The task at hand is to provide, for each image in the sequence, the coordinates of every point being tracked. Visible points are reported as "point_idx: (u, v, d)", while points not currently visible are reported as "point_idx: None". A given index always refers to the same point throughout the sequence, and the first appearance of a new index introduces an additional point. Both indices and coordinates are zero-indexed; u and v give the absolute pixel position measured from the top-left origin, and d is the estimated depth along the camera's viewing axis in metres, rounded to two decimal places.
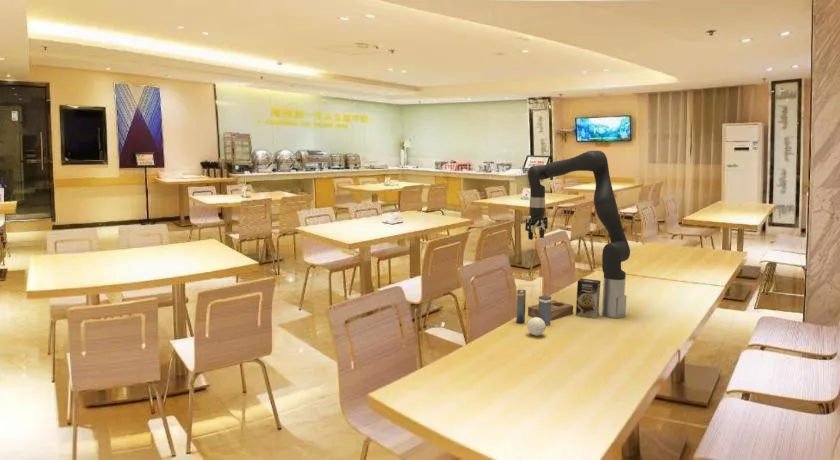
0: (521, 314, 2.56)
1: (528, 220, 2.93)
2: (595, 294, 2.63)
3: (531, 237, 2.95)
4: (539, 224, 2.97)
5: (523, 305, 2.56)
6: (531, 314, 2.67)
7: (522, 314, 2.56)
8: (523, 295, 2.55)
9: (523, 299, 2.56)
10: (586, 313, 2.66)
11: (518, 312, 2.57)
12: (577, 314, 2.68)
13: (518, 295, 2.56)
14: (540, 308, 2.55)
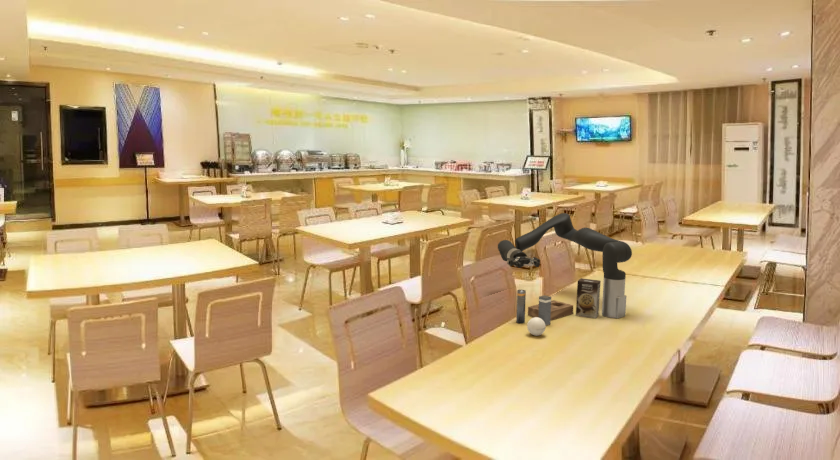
0: (521, 314, 2.56)
1: None
2: (595, 294, 2.63)
3: None
4: None
5: (523, 305, 2.56)
6: (531, 314, 2.67)
7: (522, 314, 2.56)
8: (523, 295, 2.55)
9: (523, 299, 2.56)
10: (586, 313, 2.66)
11: (518, 312, 2.57)
12: (577, 314, 2.68)
13: (518, 295, 2.56)
14: (540, 308, 2.55)
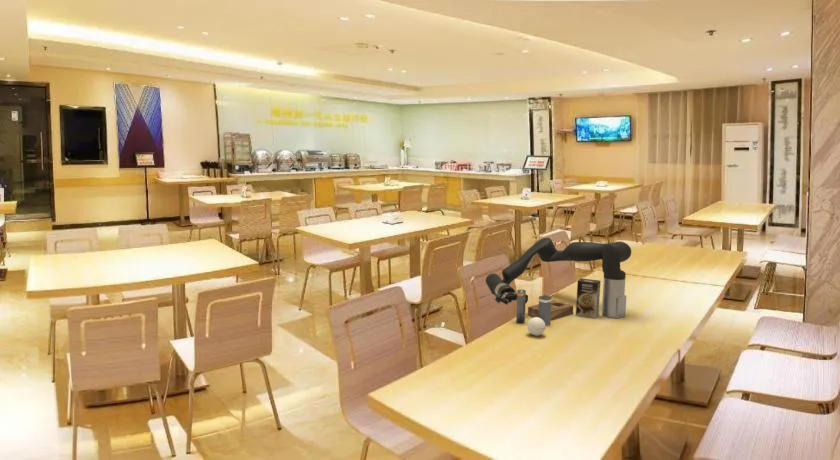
0: (521, 314, 2.56)
1: None
2: (595, 294, 2.63)
3: None
4: None
5: (523, 305, 2.56)
6: (531, 314, 2.67)
7: (522, 314, 2.56)
8: (523, 295, 2.55)
9: (523, 299, 2.56)
10: (586, 313, 2.66)
11: (518, 312, 2.57)
12: (577, 314, 2.68)
13: (518, 295, 2.56)
14: (540, 308, 2.55)
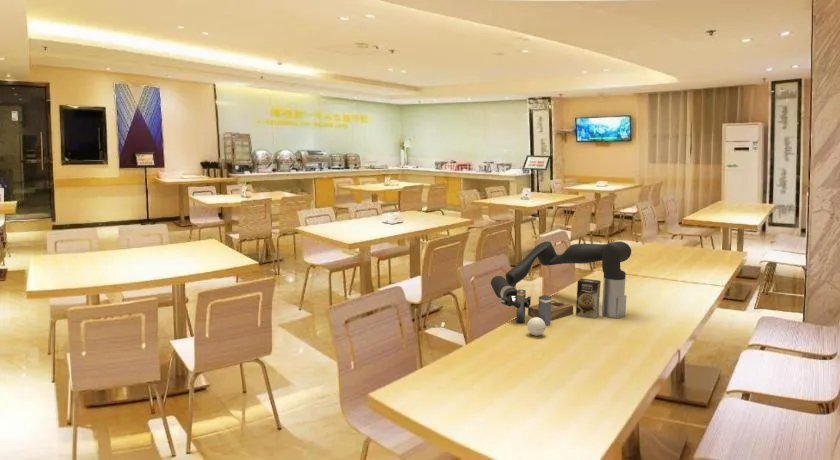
0: (521, 314, 2.56)
1: None
2: (595, 294, 2.63)
3: None
4: None
5: (523, 305, 2.56)
6: (531, 314, 2.67)
7: (522, 314, 2.56)
8: (523, 295, 2.55)
9: (523, 299, 2.56)
10: (586, 313, 2.66)
11: (518, 312, 2.57)
12: (577, 314, 2.68)
13: (518, 295, 2.56)
14: (540, 308, 2.55)
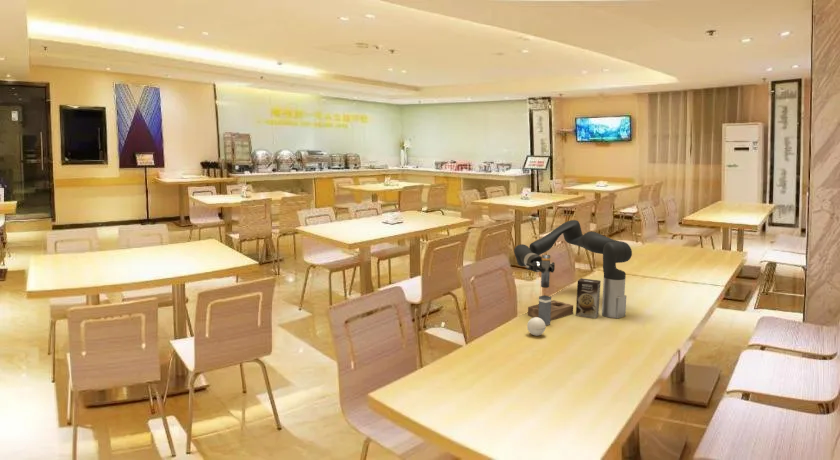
0: (546, 278, 2.63)
1: None
2: (595, 294, 2.63)
3: None
4: None
5: (548, 270, 2.62)
6: (531, 314, 2.67)
7: (547, 278, 2.63)
8: (548, 260, 2.62)
9: (548, 264, 2.62)
10: (586, 313, 2.66)
11: (543, 277, 2.63)
12: (577, 314, 2.68)
13: (543, 260, 2.62)
14: (540, 308, 2.55)
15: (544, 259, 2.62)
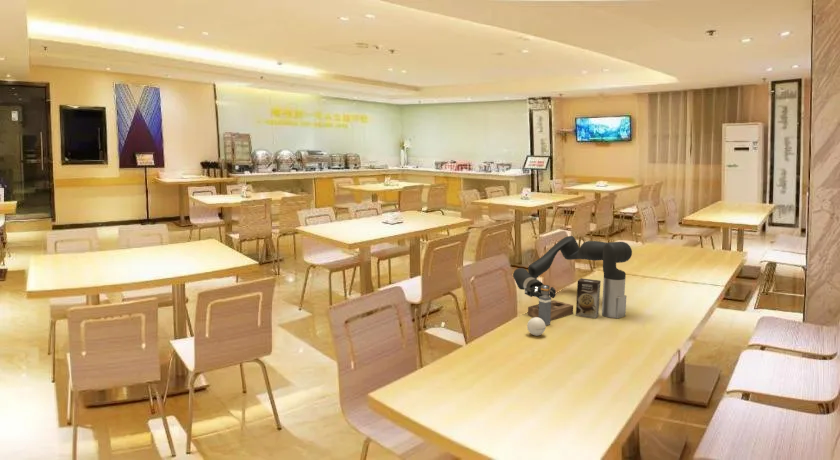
0: None
1: None
2: (595, 294, 2.63)
3: (553, 296, 2.65)
4: None
5: None
6: (531, 314, 2.67)
7: None
8: (547, 290, 2.64)
9: (547, 294, 2.64)
10: (586, 313, 2.66)
11: None
12: (577, 314, 2.68)
13: (542, 290, 2.64)
14: (540, 308, 2.55)
15: (543, 289, 2.64)
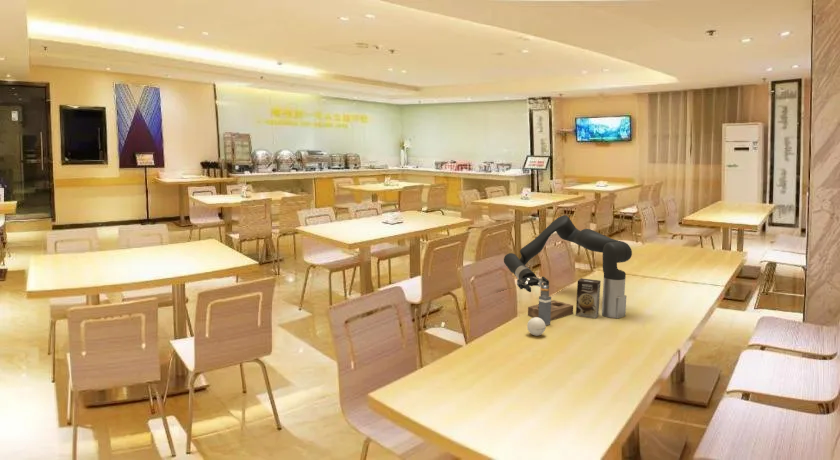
0: None
1: None
2: (595, 294, 2.63)
3: None
4: None
5: None
6: (531, 314, 2.67)
7: None
8: (547, 290, 2.64)
9: (547, 294, 2.64)
10: (586, 313, 2.66)
11: None
12: (577, 314, 2.68)
13: (542, 290, 2.64)
14: (540, 308, 2.55)
15: (543, 289, 2.64)
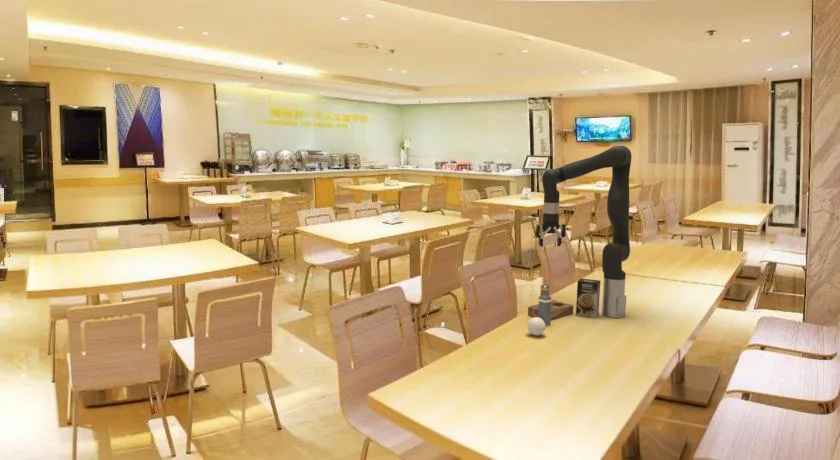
0: None
1: None
2: (595, 294, 2.63)
3: None
4: None
5: None
6: (531, 314, 2.67)
7: None
8: (547, 290, 2.64)
9: (547, 294, 2.64)
10: (586, 313, 2.66)
11: None
12: (577, 314, 2.68)
13: (542, 290, 2.64)
14: (540, 308, 2.55)
15: (543, 289, 2.64)
